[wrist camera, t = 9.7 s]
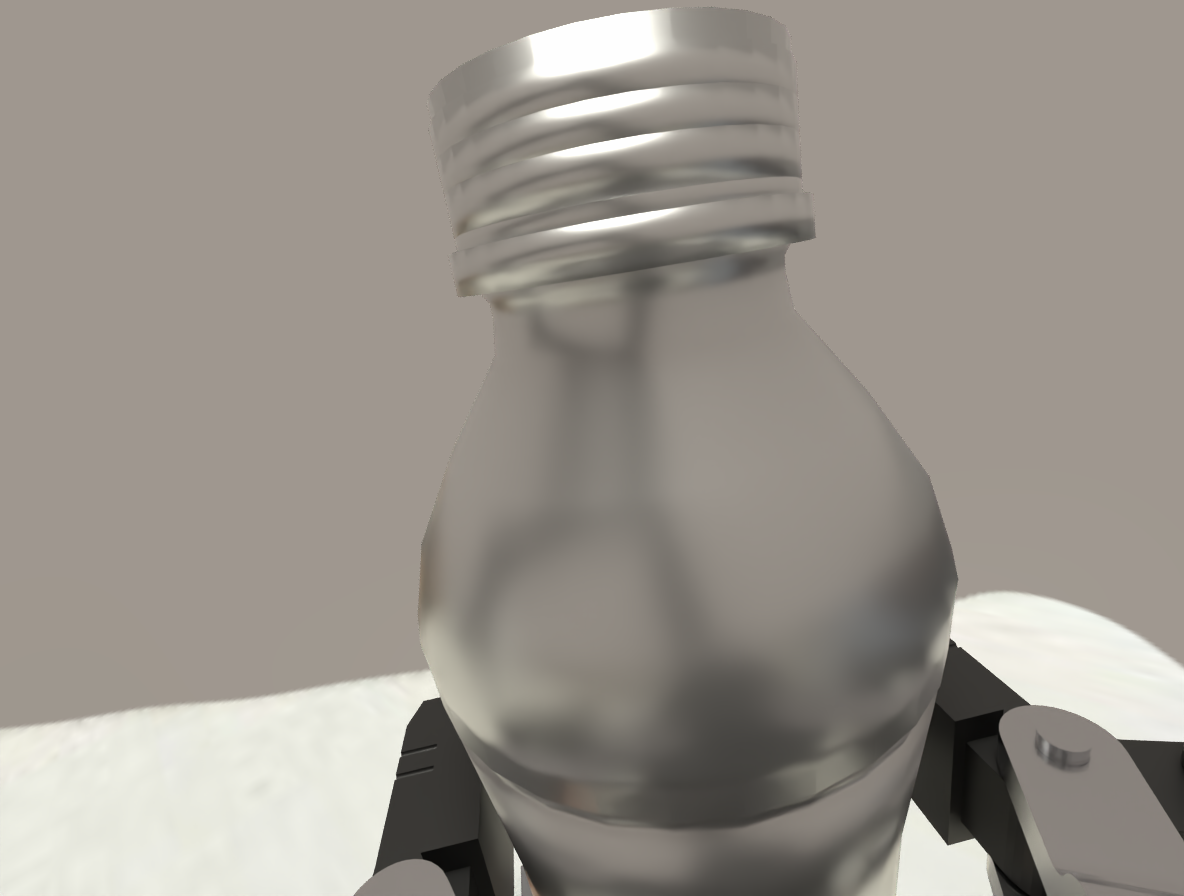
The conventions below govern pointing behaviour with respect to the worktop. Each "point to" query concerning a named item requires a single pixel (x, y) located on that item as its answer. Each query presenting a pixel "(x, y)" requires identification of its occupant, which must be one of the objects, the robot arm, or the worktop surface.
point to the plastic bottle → (670, 484)
